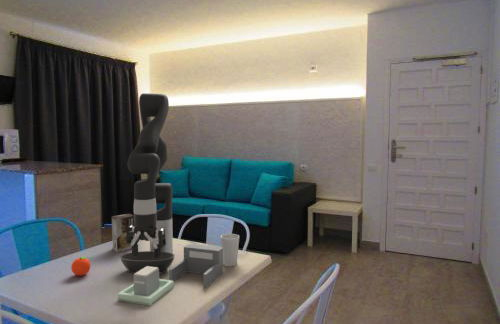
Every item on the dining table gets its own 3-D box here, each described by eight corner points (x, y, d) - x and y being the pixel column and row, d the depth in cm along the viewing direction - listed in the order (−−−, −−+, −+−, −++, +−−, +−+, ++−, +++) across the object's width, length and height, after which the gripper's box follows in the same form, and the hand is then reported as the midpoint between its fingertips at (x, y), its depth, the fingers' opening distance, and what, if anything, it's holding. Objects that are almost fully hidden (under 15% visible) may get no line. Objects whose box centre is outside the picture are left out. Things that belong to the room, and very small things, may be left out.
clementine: (85, 269, 153) (85, 252, 152) (96, 273, 149) (96, 255, 149) (67, 276, 146) (67, 258, 146) (78, 279, 143) (78, 261, 142)
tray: (117, 300, 125) (117, 293, 125) (144, 282, 140) (144, 276, 140) (150, 305, 122) (149, 298, 121) (173, 287, 136) (173, 280, 136)
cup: (240, 260, 164) (240, 234, 163) (237, 267, 156) (237, 239, 155) (222, 260, 165) (222, 233, 164) (219, 266, 157) (219, 238, 156)
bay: (168, 282, 141) (168, 256, 140) (188, 267, 156) (188, 244, 155) (206, 287, 136) (206, 261, 135) (222, 272, 151) (222, 247, 150)
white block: (132, 295, 127) (132, 274, 127) (147, 285, 135) (146, 265, 135) (145, 297, 126) (145, 276, 125) (159, 287, 134) (158, 267, 133)
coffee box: (130, 245, 186) (129, 213, 185) (135, 248, 181) (134, 215, 180) (112, 248, 180) (111, 215, 179) (116, 252, 175) (116, 218, 174)
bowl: (171, 276, 146) (171, 261, 146) (115, 276, 146) (115, 261, 146) (177, 265, 159) (177, 251, 158) (125, 265, 158) (125, 251, 158)
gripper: (120, 211, 127) (122, 258, 129) (157, 215, 123) (158, 263, 124) (134, 207, 134) (135, 251, 136) (169, 210, 130) (169, 255, 131)
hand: (146, 256), depth 130 cm, fingers open, 8 cm apart
